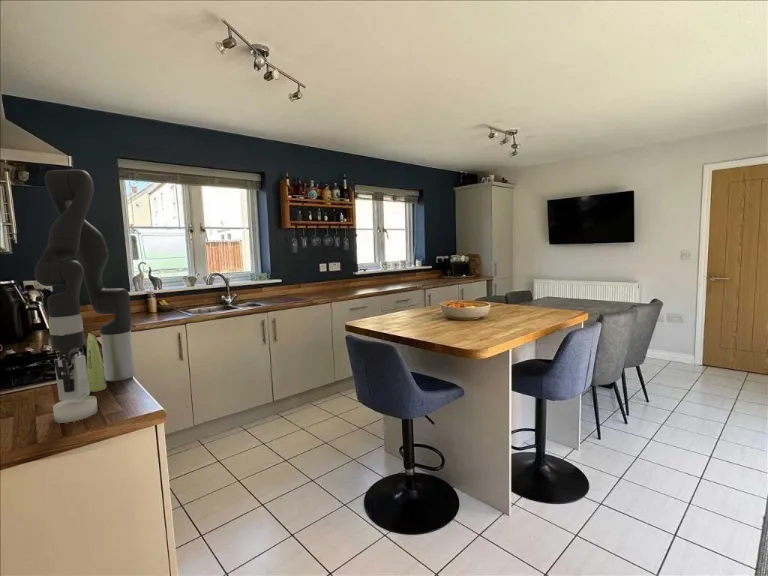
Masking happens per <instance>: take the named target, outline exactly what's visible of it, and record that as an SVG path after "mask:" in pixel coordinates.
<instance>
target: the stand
mask: <svg viewBox="0 0 768 576" xmlns="http://www.w3.org/2000/svg"><path fill="white" fill-rule="evenodd" d="M52 410H53V419H54V423H56V422H58V423H57V424H60V423H65V422H71V421H76V420H79V419H83V418H86V417H88V416H91V415H93V414H95V413H96V412H97V411H98V412H99V409H98V401H97V396H94V395H87V396H85V397H84V398H82V399H80V400H60V401H58V402H56V403H55V404H54V405H53V406H52ZM98 412H97V413H98ZM97 413H96V414H97ZM96 414H95V415H96ZM65 424H66V423H65Z"/></svg>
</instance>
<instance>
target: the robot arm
mask: <svg viewBox="0 0 768 576" xmlns="http://www.w3.org/2000/svg"><path fill="white" fill-rule="evenodd" d="M44 183H45V187H46V189H47V193H48V195H49V197H50V198H51V201H52V203H53V205H54V207H55V209H56V211H57V212H58V215H59V216H58V217H57V218H56V219H55V221H53V223H52V225H51V227H50V230H49V234H48V235H49V236H48V242H47V246H46V248H45V250H44V252H43V253H42V255H41V257H40V259H39V260H38V262H37V263H36V266H35V268H34V272H33V273H34V278H35V280H36V282H38V284H40V285H41V286H44V287H56V286H57V287H58V286H67V287H66V290H65V291H63V292H60V293H55V294H52V295H49V296H48V297H47V300H46V304H47V305H46V306H47V310H48V311H47V312H48V313H47V314H48V330H49V339H50V347H51V349H53V350H54V351H59V354H58V355H59V356H58V358H59V360H55V359H54V360H55V361H54V360H53V363H54V368H56V371H55V373H56V372H57V376H58V380H63V384H64V392H73V391H74V390H75V388H74V379H73V370H74V369H75V368H74V364H73V363H72V367H70V368H69V367H68V366H70V365H71V359H76V358H77V356H80V355H85V353H84V347H83V346H84V345H85V343H86V340H85V333H84V323H83V318H82V314H81V306H80V293H81V287H82V283H83V279H84V283H85V287H86V290H87V295H88V297H89V302H90V306H91V308H92V309H93V311H94V312H95V313H96V314H98V315H114V319H112V320H111V321H110V322H107V323H103V324H102V325H101V326H100V327H99V332H100V340H101V341H100V342H101V349H102V351H101V352H102V358H103V359H102V362H103V367H104V373H105V379H106V382H121V381H125V380H129V379H131V378H133V377H135V375H136V373H135V371H136V370H135V362H134V361H135V359H134V349H133V340H132V330H131V326H132V325H131V324H132V313H131V311H132V308H131V306H132V305H131V297H130V293H129V291H128V290H127V289H125V288H119V287H118V288H106V287H105V286H104V282H103V277H102V276H103V272H104V270H105V268H106V266H107V263H108V261H109V258H110V257H109V256H110V253H109V249H108V247H107V243H106V241H105V238H104V236H103V234H102V233H101V232H100V231H99V230H98V229H97V228H96V227H95V226H93V225H92V224H91V223H90V222H88V221H87V220H86V217H87V215H88V212H89V209H90V206H91V203H92V199H93V197H94V191H95V187H94V181H93V178H92V176H91V175H90V174H89V173H88V172H87V171H86V170H83V169H55V170H48V171H46V172H45V175H44ZM72 258H76V259H75V260H74V259H72ZM69 371H70V372H69ZM65 373H66V375H65Z"/></svg>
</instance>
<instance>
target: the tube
mask: <svg viewBox="0 0 768 576" xmlns="http://www.w3.org/2000/svg"><path fill="white" fill-rule="evenodd" d="M87 334H88V336H87V341H86V367H87V375H88V383H89V391H90V393H92V392H93V393H98V392H101V391H104V390H105V389H107V387H108V386H107V381H106V379H105V371H104V361H103V359H102V358H103V357H102V355H101V350H100V347H99V344H98V341H97V339H96V338H95V335H94V334H92V333H90V332H88V333H87Z"/></svg>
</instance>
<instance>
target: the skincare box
mask: <svg viewBox="0 0 768 576" xmlns="http://www.w3.org/2000/svg"><path fill="white" fill-rule="evenodd" d="M55 360H59V357H58V358H55V359H54V360H53V362H54V361H55ZM72 363H73V364H74V368H75V369H74V370H73V379H74V388H75V390H74V391H73V392H64V384H63V380H58V376H57V372H56V368H55V367H54V368H55V369H54V370H55V376H56V377H55V378H56V385H57V391H58V392H57V393H58V399H59V401H63V400H80V399H82V398H84V397H85V396H90V394H91V392H90V391H89V383H88V372H87V358H86V355H85V354H84V355H80V356H77V358H76V359H71V365H70V366H68V367H69V368H70V367H72ZM69 372H70V371H69ZM65 375H66V373H65Z"/></svg>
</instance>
